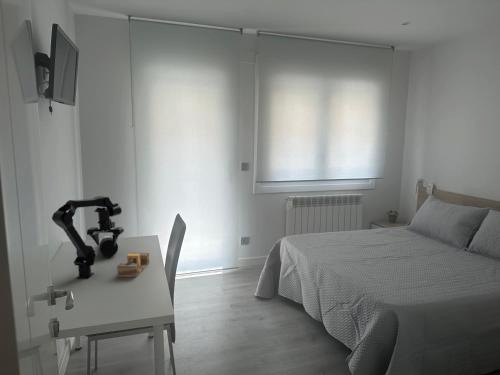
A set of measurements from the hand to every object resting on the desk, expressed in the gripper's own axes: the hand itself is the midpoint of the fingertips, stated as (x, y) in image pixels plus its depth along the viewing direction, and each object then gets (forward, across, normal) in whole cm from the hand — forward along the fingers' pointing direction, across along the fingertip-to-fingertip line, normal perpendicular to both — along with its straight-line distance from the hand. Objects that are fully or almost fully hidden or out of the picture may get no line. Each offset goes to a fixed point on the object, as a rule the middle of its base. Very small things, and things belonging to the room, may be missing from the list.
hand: (106, 245), depth 197 cm
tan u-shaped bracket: (+10, -17, +5) cm, 20 cm away
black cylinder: (+12, +13, -28) cm, 34 cm away
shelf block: (+12, -17, +5) cm, 21 cm away
